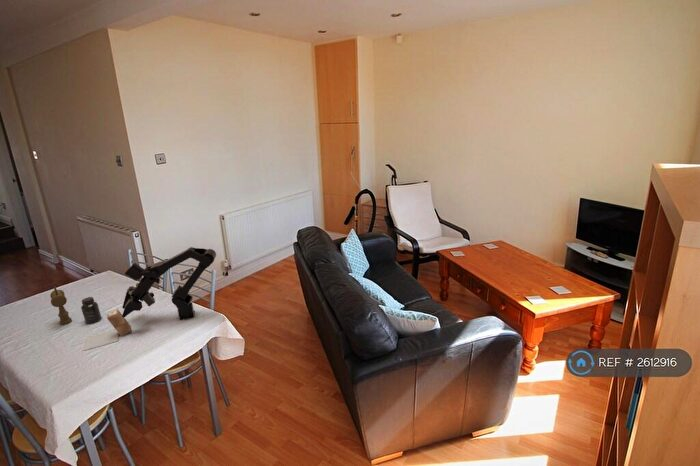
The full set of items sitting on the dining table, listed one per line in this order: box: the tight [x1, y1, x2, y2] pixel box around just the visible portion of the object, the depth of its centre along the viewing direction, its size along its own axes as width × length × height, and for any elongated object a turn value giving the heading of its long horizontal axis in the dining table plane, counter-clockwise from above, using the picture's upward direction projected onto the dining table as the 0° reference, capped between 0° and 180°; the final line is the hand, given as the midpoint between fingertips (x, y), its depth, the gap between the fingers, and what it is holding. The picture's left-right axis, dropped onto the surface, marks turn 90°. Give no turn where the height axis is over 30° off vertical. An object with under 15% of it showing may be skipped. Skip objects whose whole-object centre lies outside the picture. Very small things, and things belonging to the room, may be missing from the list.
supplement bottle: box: [80, 296, 102, 325], centre depth 181 cm, size 7×7×12 cm
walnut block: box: [106, 308, 132, 337], centre depth 169 cm, size 4×4×11 cm
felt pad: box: [82, 328, 119, 352], centre depth 167 cm, size 13×12×1 cm
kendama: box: [50, 286, 73, 325], centre depth 179 cm, size 6×10×20 cm, turn 41°
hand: (123, 312), depth 173 cm, fingers open, 9 cm apart
